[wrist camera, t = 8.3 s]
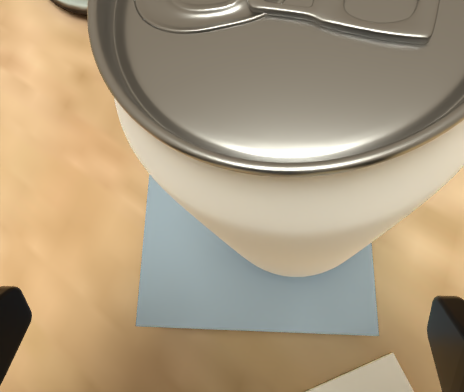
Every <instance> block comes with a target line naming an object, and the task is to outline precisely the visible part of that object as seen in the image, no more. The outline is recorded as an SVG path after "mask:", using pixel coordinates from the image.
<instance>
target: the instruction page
mask: <svg viewBox="0 0 464 392" xmlns="http://www.w3.org/2000/svg"><path fill="white" fill-rule="evenodd" d="M305 392H414V391H413V389H412V387H411V385H410V383H409V381H408V380H407V378H406V376H405V374H404V372H403V370H402V368H401V367H400V365H399V363H398V361H397V359H396V357H395V355H394V353H393V352H392V353H390V354H387V355H385V356H383V357H381V358H378V359H376V360H374V361H372V362H369V363H367V364H365V365H363V366H361V367H358V368H356V369H354V370H352V371H349V372H347V373H345V374H343V375H340V376H338V377H336V378H334V379H331V380H329V381H327V382H325V383H323V384H320V385H318V386H316V387H314V388H311V389H309V390H307V391H305Z"/></svg>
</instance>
